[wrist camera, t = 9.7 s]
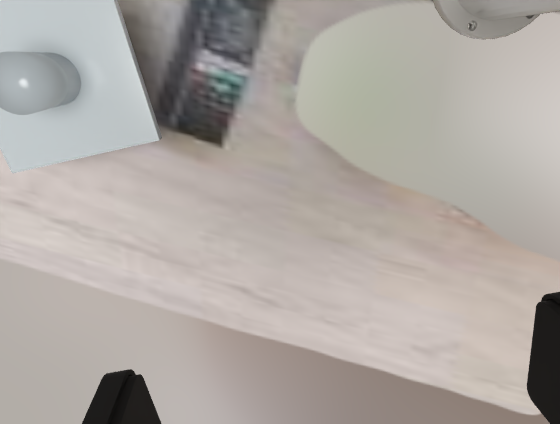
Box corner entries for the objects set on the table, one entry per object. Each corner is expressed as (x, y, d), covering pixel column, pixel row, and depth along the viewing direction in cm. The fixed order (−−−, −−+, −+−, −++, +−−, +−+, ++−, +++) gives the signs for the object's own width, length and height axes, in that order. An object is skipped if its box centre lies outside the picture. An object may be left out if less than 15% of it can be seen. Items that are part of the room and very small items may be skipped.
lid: (108, -27, 26) (72, -50, 20) (161, 137, 30) (144, 156, 24) (-58, 9, 25) (-141, -4, 20) (19, 169, 30) (-32, 195, 24)
